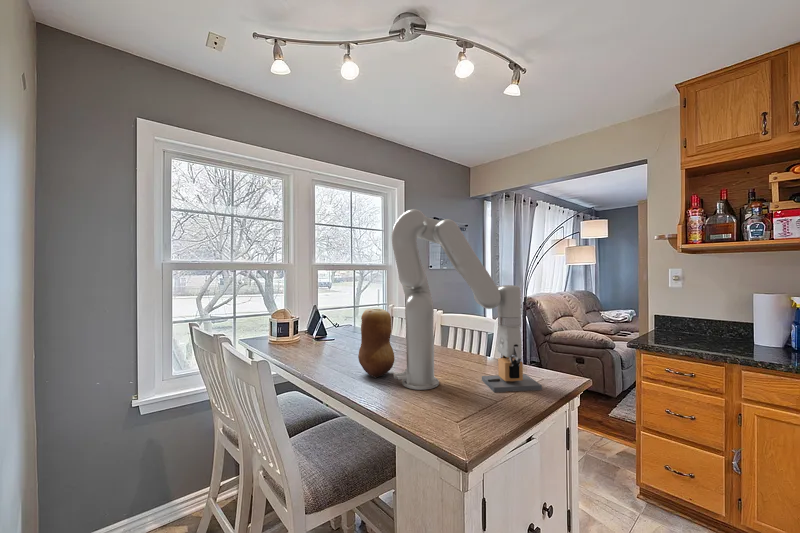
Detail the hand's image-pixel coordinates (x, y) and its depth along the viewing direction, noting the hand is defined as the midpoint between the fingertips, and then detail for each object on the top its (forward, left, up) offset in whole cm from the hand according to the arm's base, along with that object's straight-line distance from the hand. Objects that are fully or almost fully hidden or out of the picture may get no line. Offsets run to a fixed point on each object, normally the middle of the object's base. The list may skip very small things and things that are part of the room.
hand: (510, 374), depth 119 cm
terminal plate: (0, 0, -4) cm, 4 cm away
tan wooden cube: (0, 0, -1) cm, 1 cm away
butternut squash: (-45, +17, -4) cm, 48 cm away
